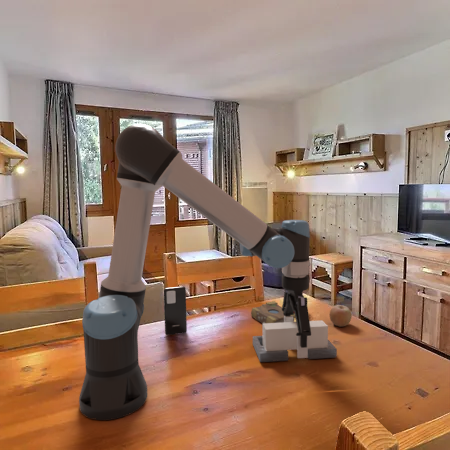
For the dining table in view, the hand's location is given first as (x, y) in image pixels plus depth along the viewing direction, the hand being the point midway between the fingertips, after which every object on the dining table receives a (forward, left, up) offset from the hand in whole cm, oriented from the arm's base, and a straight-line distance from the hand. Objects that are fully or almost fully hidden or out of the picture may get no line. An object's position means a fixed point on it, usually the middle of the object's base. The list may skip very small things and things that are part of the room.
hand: (294, 346), depth 103 cm
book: (0, +26, -3) cm, 26 cm away
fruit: (+22, +19, -2) cm, 29 cm away
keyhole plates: (0, +4, -2) cm, 5 cm away
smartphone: (-35, +19, -2) cm, 40 cm away
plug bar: (0, 0, -2) cm, 2 cm away
